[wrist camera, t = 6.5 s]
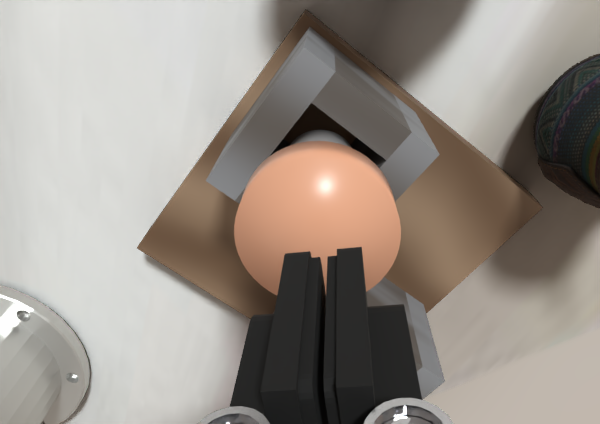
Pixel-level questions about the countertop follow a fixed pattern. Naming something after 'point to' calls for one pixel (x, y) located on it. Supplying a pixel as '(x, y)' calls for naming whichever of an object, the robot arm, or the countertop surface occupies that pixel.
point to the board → (370, 142)
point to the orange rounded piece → (316, 209)
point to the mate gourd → (572, 131)
